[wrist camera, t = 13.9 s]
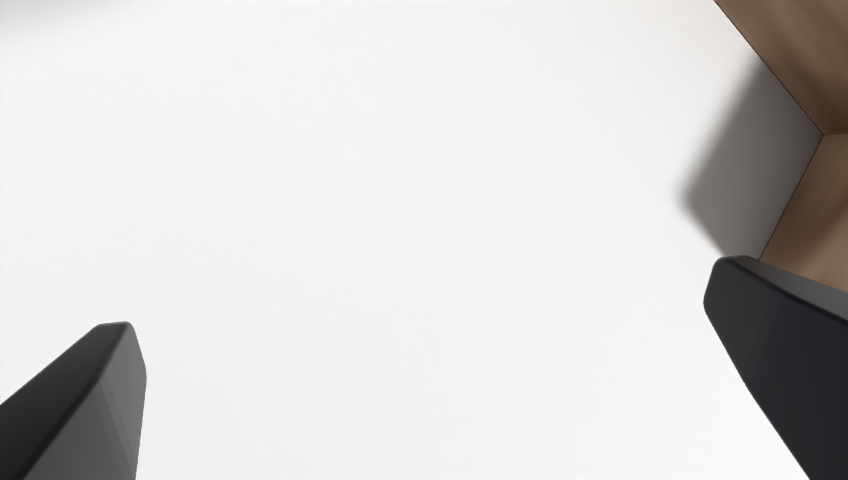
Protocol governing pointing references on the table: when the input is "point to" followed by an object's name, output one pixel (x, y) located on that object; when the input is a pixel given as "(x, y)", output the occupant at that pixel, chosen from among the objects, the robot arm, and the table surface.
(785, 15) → the frame
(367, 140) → the table surface
